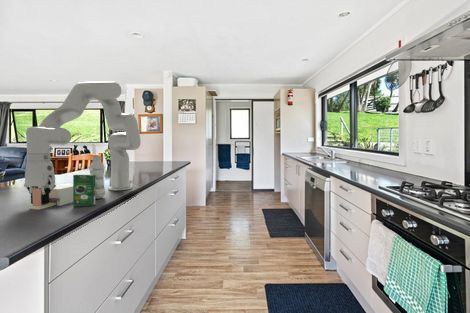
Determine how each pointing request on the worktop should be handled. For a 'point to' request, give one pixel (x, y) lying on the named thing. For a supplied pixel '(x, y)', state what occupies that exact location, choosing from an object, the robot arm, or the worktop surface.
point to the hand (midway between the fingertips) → (40, 203)
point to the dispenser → (62, 194)
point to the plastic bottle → (98, 176)
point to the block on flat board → (37, 199)
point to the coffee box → (83, 190)
